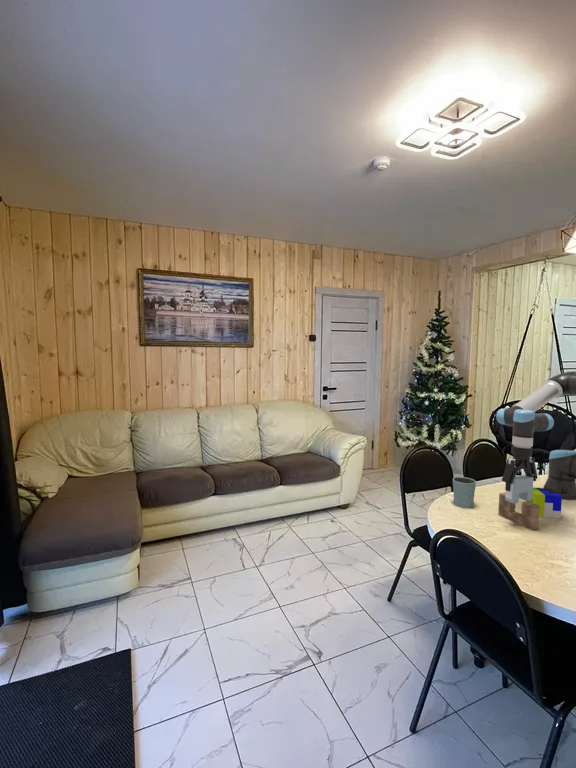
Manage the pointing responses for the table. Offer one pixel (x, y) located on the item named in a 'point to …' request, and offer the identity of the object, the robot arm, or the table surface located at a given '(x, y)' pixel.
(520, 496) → the grey arch block
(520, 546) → the table surface
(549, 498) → the puzzle toy
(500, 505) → the walnut upright
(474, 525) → the table surface
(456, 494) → the grey cup
